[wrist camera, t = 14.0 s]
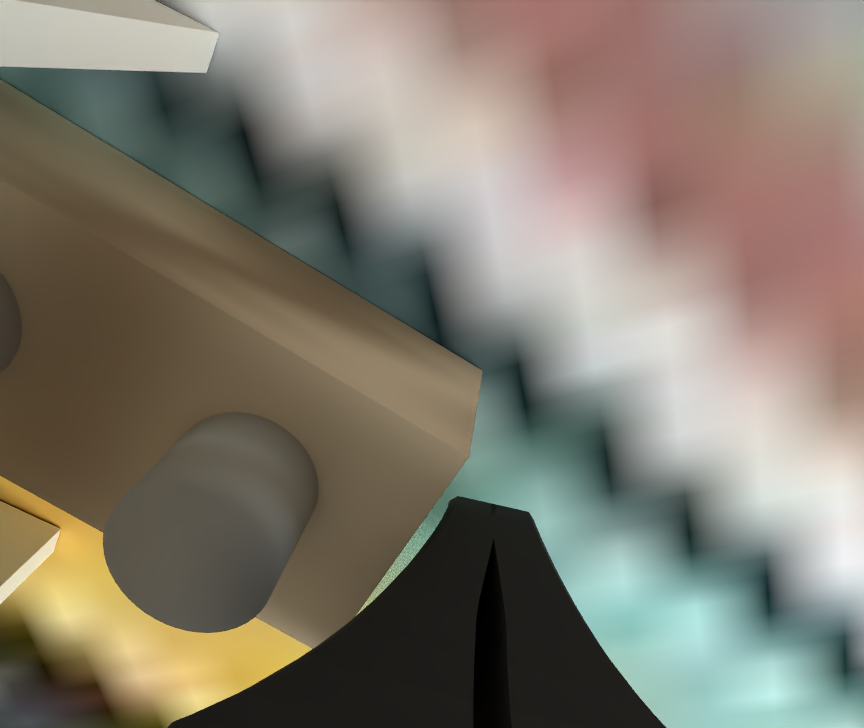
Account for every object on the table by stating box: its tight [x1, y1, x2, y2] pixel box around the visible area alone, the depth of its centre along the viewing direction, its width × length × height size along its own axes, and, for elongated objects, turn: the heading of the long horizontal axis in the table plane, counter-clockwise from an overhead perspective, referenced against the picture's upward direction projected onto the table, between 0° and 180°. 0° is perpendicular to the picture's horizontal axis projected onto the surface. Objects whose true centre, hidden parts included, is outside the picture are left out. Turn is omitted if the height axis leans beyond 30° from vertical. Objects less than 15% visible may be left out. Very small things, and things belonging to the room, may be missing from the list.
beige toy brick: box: [0, 79, 483, 649], centre depth 10 cm, size 9×4×5 cm, turn 59°
